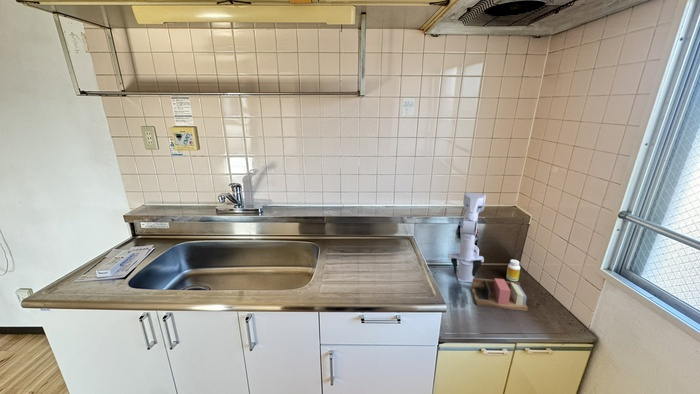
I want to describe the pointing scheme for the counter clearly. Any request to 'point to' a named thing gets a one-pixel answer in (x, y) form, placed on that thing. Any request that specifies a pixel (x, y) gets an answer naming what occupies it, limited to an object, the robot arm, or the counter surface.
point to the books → (517, 294)
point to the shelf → (492, 300)
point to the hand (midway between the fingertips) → (464, 274)
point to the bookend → (483, 292)
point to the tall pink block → (501, 291)
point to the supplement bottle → (513, 270)
